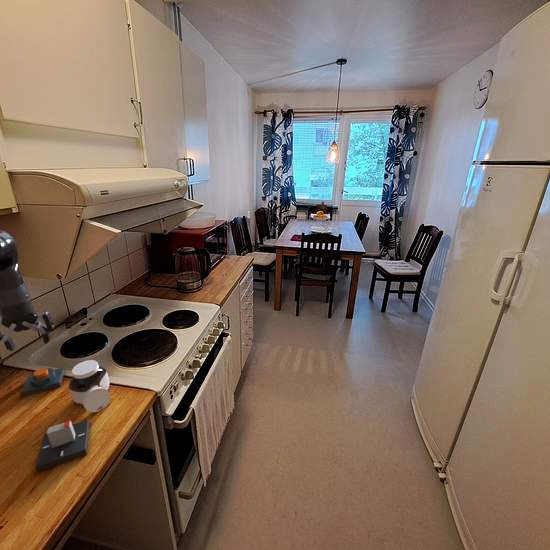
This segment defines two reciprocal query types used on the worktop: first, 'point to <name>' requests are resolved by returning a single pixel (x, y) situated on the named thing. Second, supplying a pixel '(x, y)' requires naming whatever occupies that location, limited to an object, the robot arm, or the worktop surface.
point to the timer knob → (61, 434)
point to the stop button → (41, 373)
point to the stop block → (43, 382)
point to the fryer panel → (64, 448)
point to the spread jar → (90, 385)
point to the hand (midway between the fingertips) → (30, 345)
